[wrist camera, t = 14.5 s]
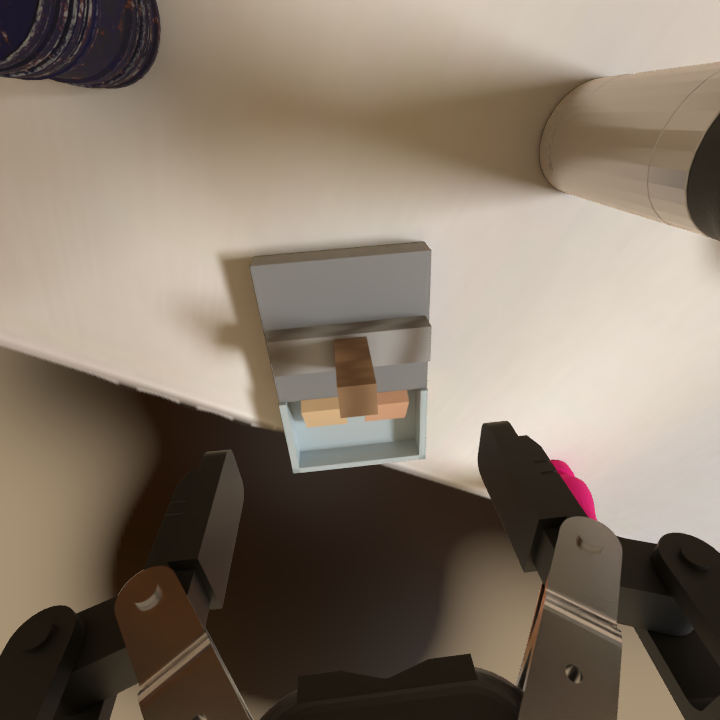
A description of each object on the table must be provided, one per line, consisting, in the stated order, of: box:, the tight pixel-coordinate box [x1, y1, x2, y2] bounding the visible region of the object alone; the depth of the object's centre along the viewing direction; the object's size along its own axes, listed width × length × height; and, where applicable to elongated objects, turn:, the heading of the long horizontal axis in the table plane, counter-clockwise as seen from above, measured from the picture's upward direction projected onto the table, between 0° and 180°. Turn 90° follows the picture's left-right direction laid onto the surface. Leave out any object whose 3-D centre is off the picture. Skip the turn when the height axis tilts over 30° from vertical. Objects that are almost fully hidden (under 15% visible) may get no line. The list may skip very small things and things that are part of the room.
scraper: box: [267, 316, 431, 418], centre depth 37 cm, size 16×4×10 cm, turn 94°
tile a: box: [365, 390, 409, 422], centre depth 47 cm, size 5×5×2 cm
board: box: [250, 242, 431, 403], centre depth 42 cm, size 17×16×3 cm
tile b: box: [301, 397, 347, 428], centre depth 47 cm, size 5×5×2 cm
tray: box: [279, 388, 428, 473], centre depth 49 cm, size 17×11×4 cm, turn 94°
